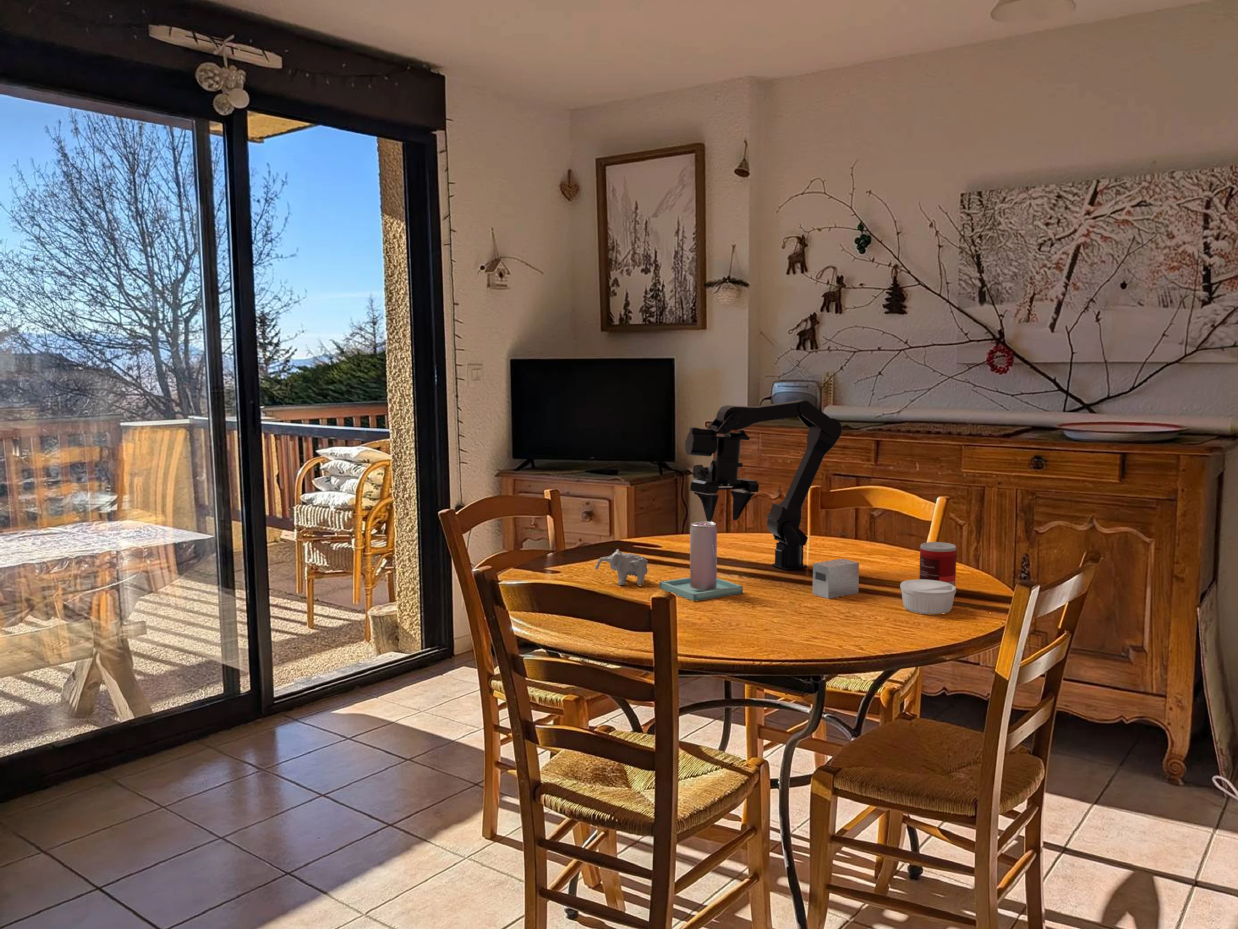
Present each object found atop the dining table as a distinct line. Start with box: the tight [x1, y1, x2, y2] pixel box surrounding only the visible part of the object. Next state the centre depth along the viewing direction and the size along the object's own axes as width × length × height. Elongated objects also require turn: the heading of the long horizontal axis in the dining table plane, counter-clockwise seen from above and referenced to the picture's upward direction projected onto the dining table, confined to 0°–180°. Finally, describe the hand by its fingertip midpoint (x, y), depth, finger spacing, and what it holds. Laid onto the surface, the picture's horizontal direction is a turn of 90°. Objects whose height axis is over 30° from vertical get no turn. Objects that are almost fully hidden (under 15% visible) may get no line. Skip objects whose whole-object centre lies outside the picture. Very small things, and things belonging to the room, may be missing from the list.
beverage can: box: [689, 520, 718, 592], centre depth 222 cm, size 6×6×15 cm
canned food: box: [919, 541, 957, 587], centre depth 220 cm, size 8×8×11 cm
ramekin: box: [899, 579, 957, 615], centre depth 207 cm, size 11×11×5 cm
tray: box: [658, 576, 744, 602], centre depth 224 cm, size 14×14×2 cm
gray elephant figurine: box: [595, 548, 649, 586], centre depth 231 cm, size 9×12×8 cm
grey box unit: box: [812, 558, 860, 600], centre depth 220 cm, size 10×5×7 cm, turn 121°
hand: (722, 520), depth 242 cm, fingers open, 9 cm apart
